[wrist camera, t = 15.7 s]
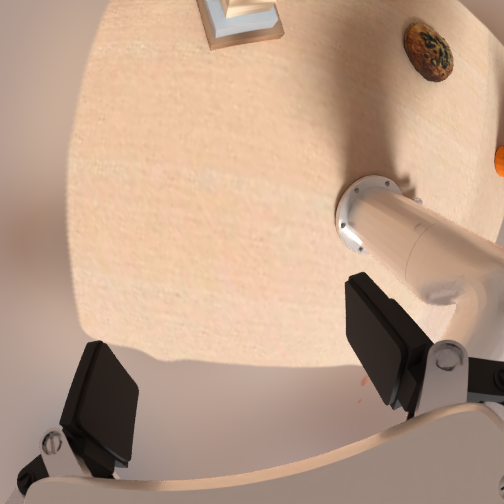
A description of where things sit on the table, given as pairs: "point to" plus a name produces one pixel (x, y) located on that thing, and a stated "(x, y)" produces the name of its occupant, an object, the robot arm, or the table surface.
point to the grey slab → (237, 20)
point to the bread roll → (428, 52)
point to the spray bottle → (500, 161)
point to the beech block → (245, 7)
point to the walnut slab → (238, 38)
